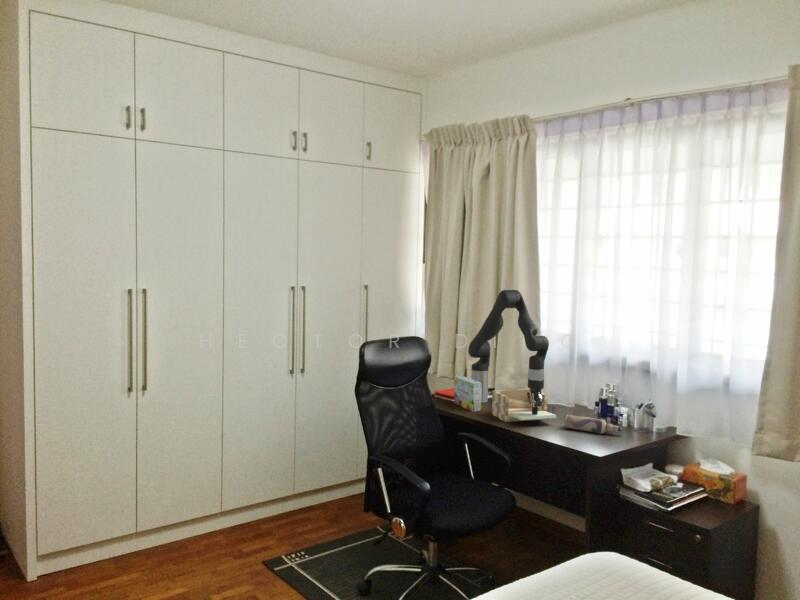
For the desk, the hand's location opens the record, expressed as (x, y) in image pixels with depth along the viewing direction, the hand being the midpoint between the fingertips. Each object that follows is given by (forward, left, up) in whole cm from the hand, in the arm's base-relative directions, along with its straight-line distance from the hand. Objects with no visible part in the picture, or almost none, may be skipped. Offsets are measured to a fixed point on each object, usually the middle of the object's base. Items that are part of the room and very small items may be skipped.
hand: (534, 414), depth 317 cm
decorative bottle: (+18, +19, -5) cm, 27 cm away
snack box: (-42, -17, -5) cm, 45 cm away
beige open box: (-16, 0, -5) cm, 17 cm away
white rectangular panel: (-8, 0, -2) cm, 8 cm away
